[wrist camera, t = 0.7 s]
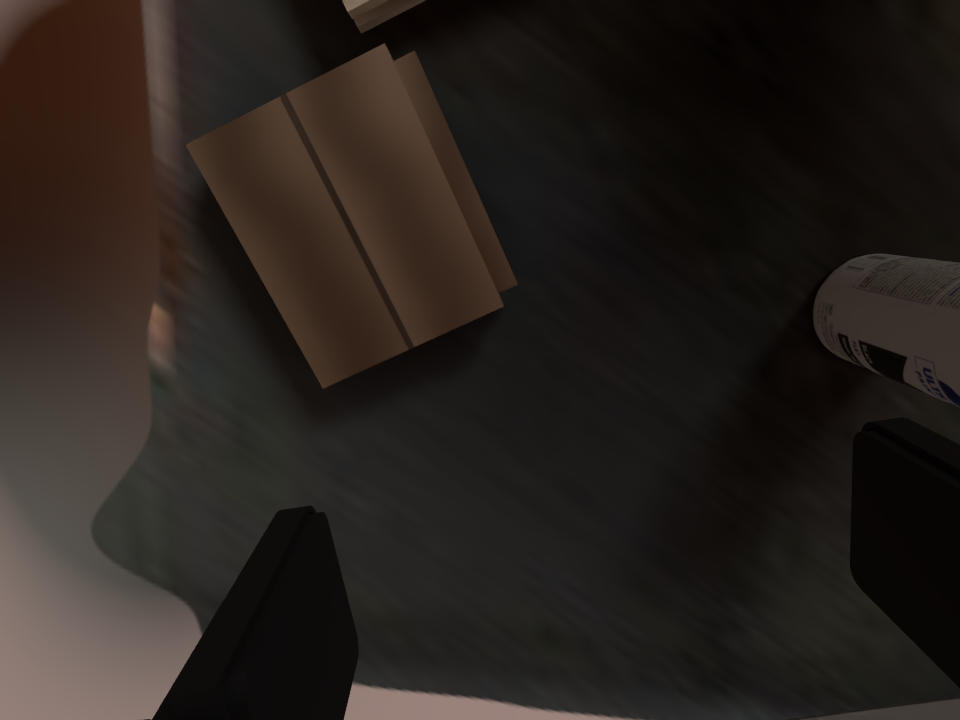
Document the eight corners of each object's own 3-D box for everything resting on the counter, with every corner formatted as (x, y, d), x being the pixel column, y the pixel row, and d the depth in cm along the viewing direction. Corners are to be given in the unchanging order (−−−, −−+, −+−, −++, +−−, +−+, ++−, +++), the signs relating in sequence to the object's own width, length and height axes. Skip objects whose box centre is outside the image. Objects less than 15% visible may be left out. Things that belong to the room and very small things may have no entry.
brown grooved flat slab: (414, 51, 32) (407, 31, 28) (517, 286, 35) (524, 297, 31) (218, 150, 33) (184, 144, 29) (338, 368, 36) (322, 389, 32)
